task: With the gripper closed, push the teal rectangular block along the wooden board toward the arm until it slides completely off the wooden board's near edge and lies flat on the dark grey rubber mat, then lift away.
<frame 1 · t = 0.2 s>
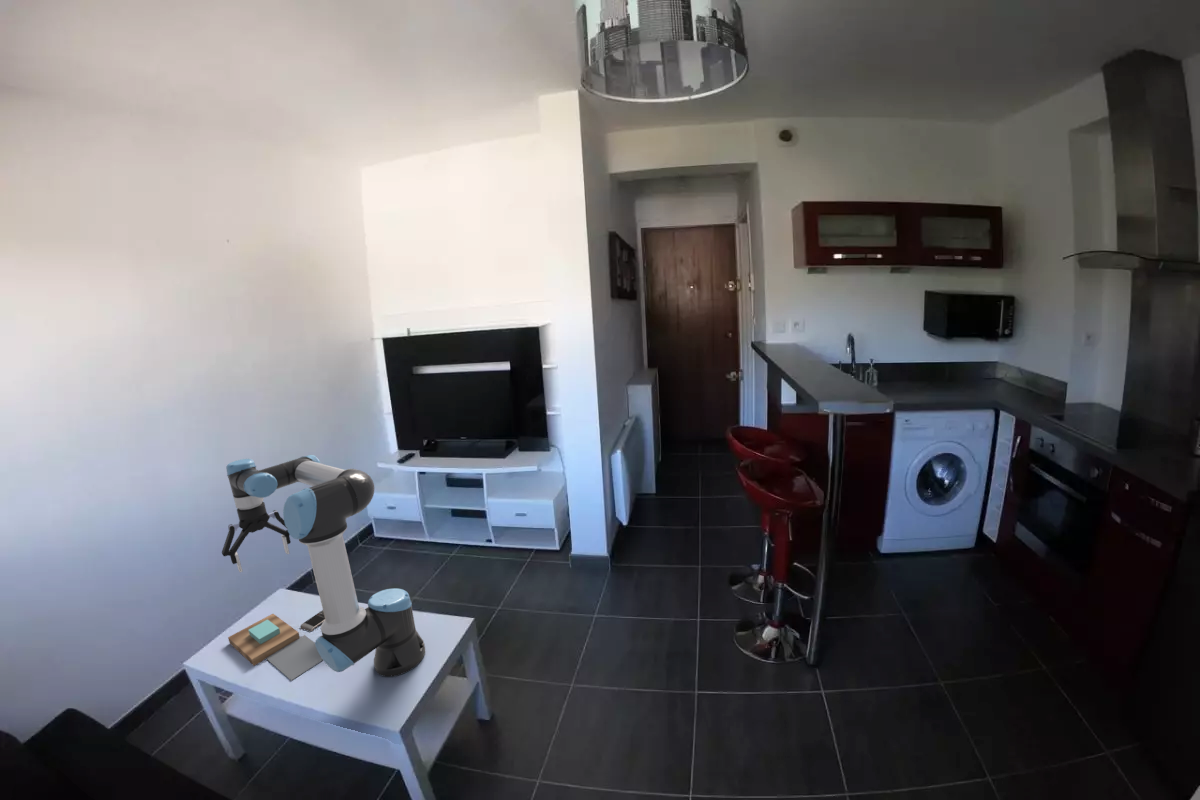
hand: (264, 561, 160), 28 cm above the table, fingers open, 13 cm apart
teal rectangular block: (264, 633, 162), point 2 cm above the table, touching wooden board
mat: (298, 656, 153), on the table
wooden board: (264, 641, 162), on the table
cell phone: (320, 621, 171), on the table
ink cartridge box: (348, 628, 166), on the table
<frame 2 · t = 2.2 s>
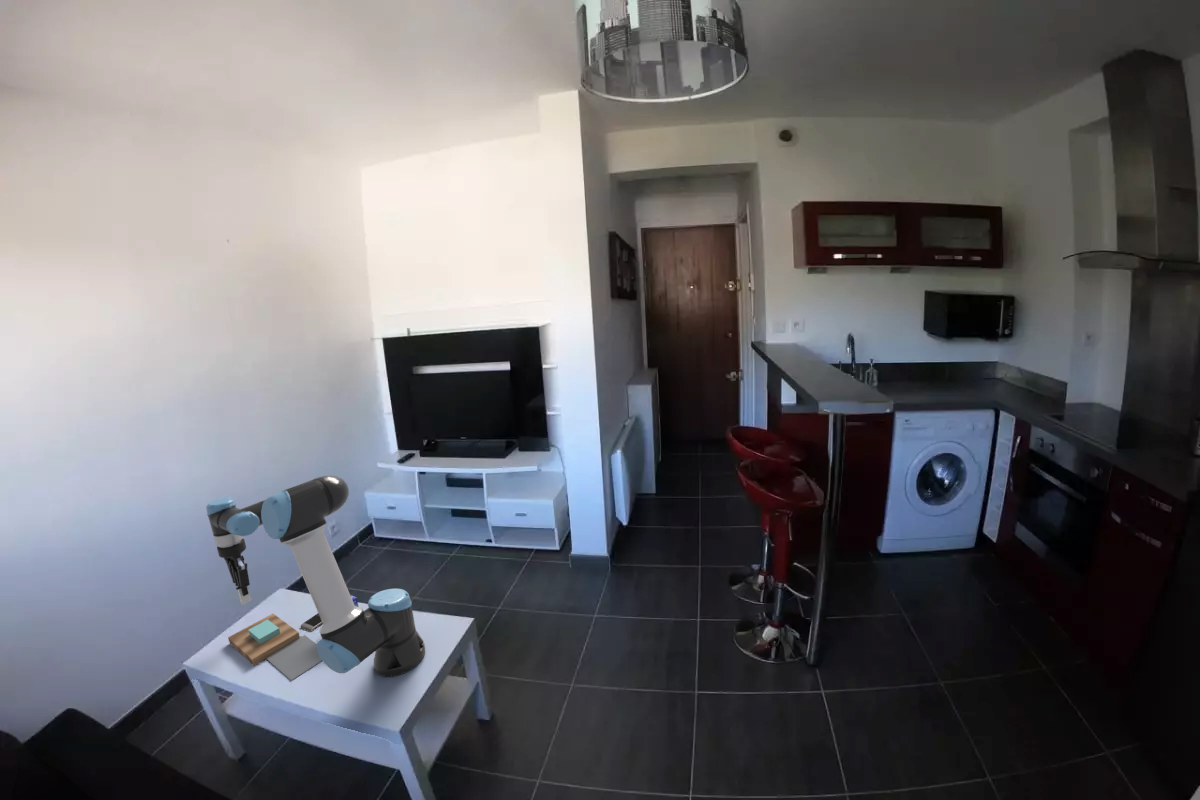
hand: (246, 601, 165), 12 cm above the table, fingers closed
nothing on the table moved.
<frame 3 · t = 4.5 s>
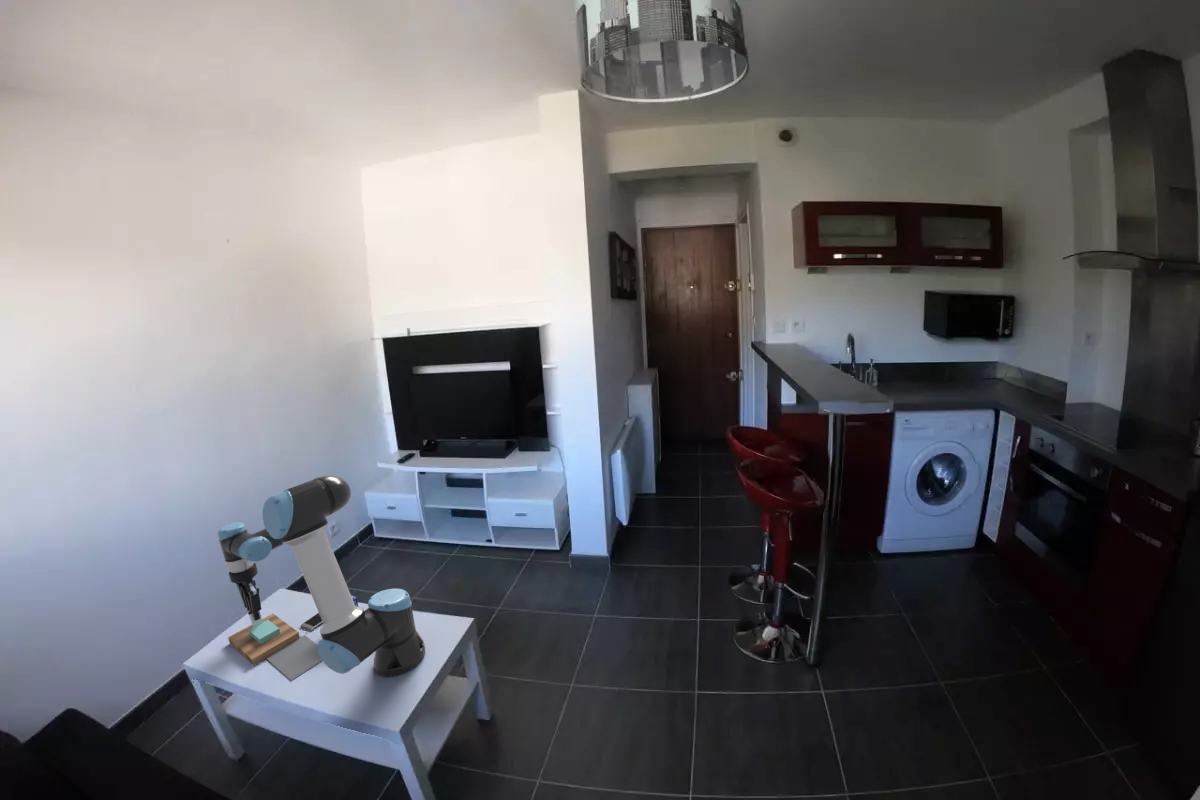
hand: (258, 626, 164), 4 cm above the table, fingers closed
teal rectangular block: (265, 634, 162), point 3 cm above the table, touching wooden board, gripper
everything else where it was.
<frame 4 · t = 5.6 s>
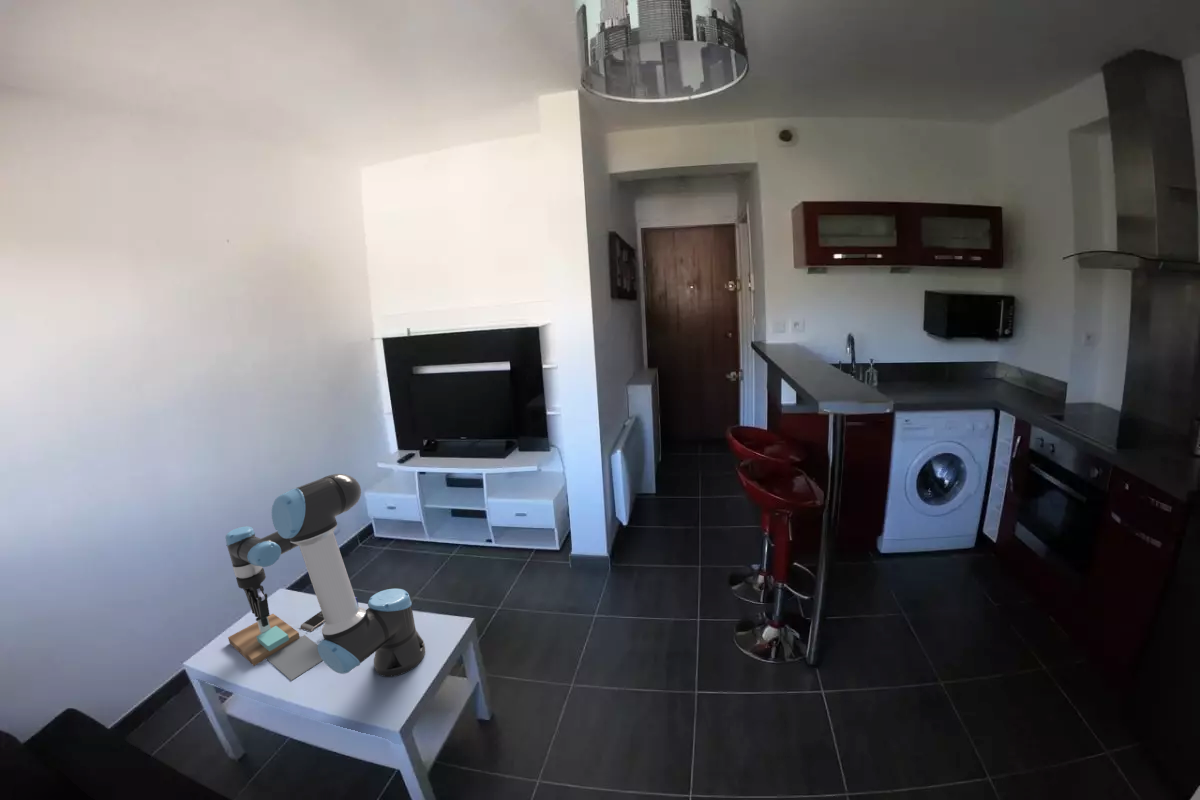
hand: (266, 632, 161), 4 cm above the table, fingers closed
teal rectangular block: (273, 640, 158), point 3 cm above the table, touching gripper
everything else where it was.
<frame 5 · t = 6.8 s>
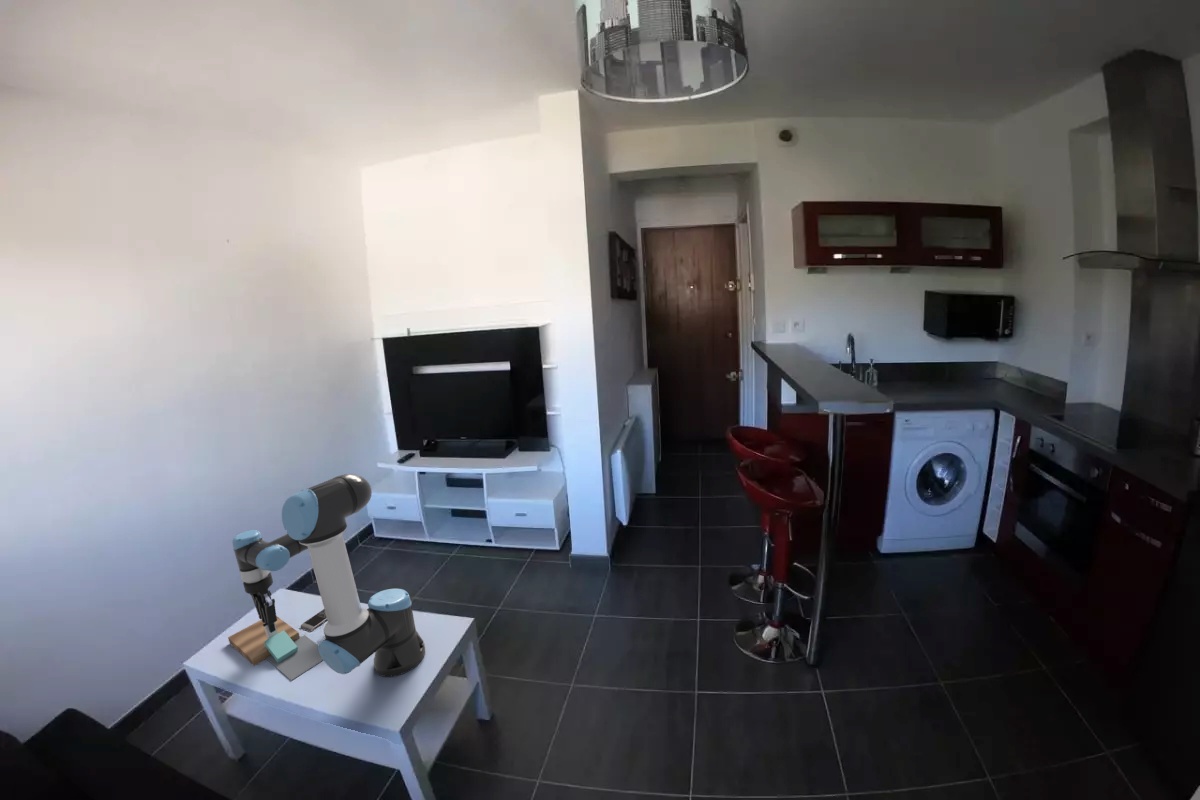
hand: (273, 638, 158), 4 cm above the table, fingers closed
teal rectangular block: (281, 648, 155), point 2 cm above the table, tilted 20°, touching gripper, mat
everything else where it was.
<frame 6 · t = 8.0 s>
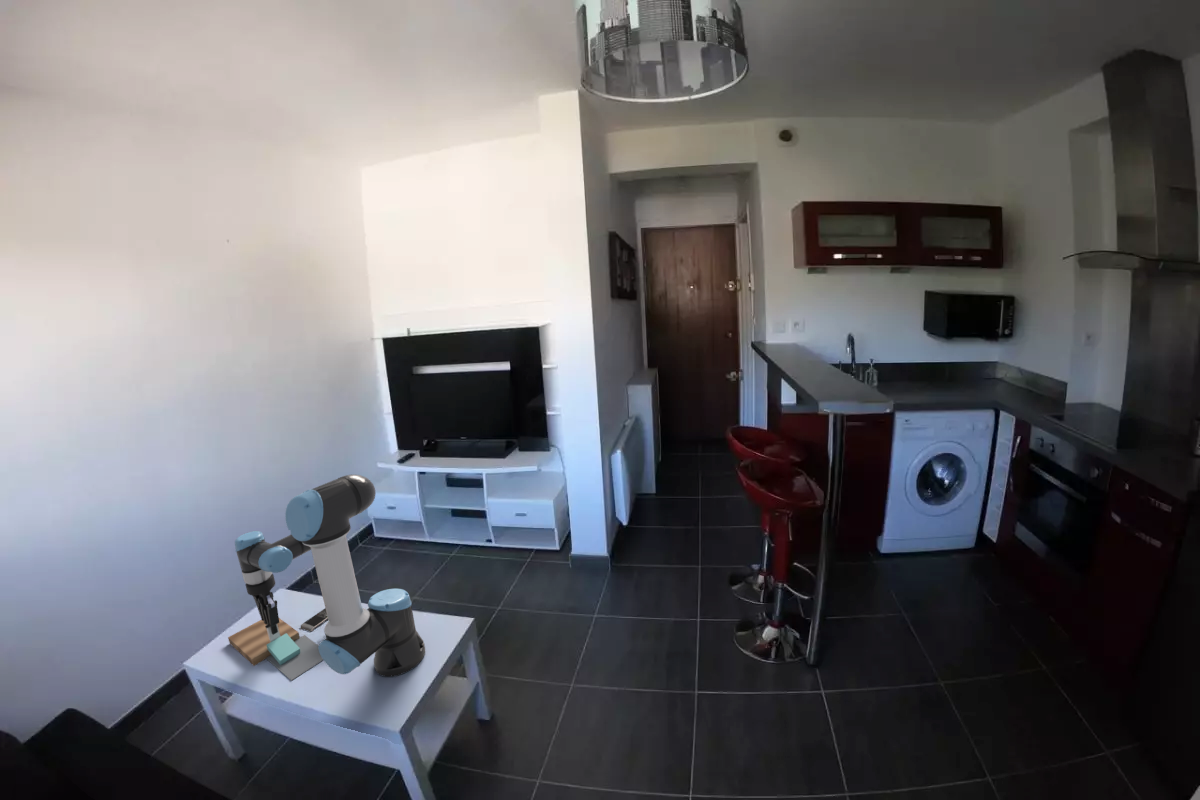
hand: (275, 640, 157), 4 cm above the table, fingers closed
teal rectangular block: (283, 650, 154), point 1 cm above the table, tilted 15°
everything else where it was.
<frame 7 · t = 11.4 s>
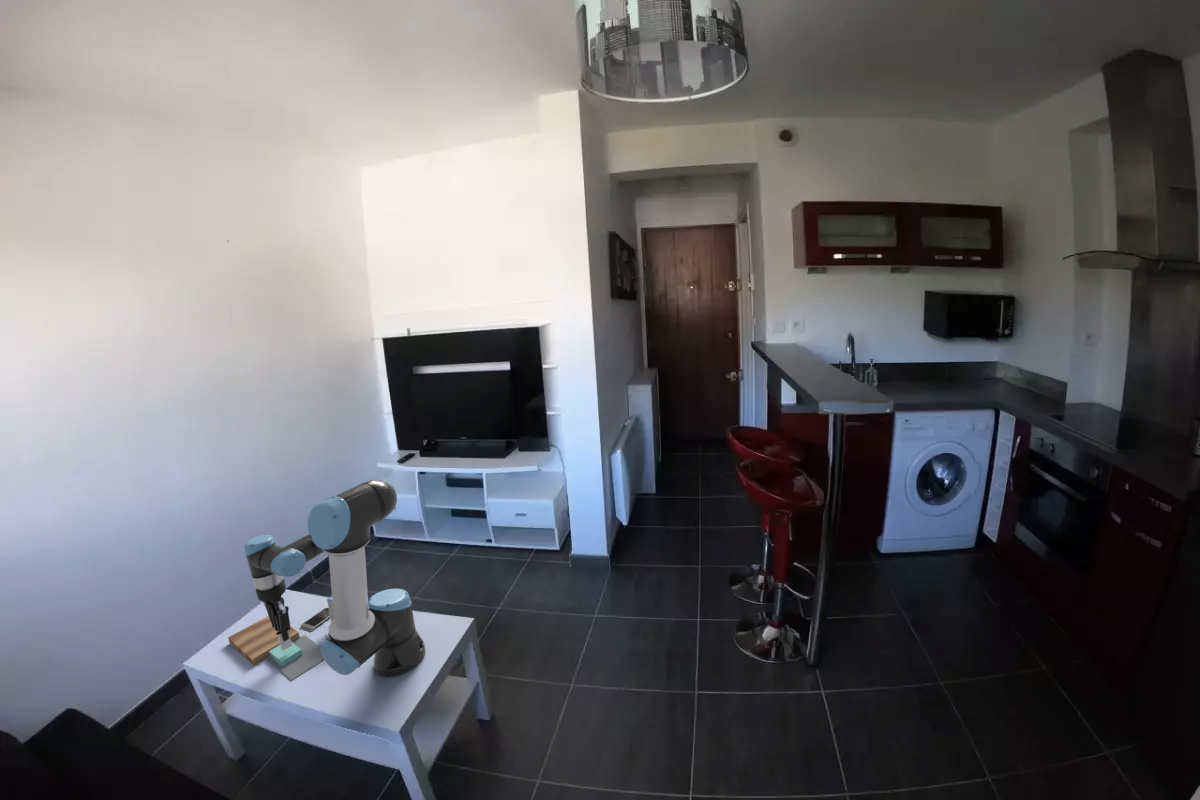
hand: (286, 647, 152), 4 cm above the table, fingers closed
teal rectangular block: (286, 655, 154), resting on mat
everything else where it was.
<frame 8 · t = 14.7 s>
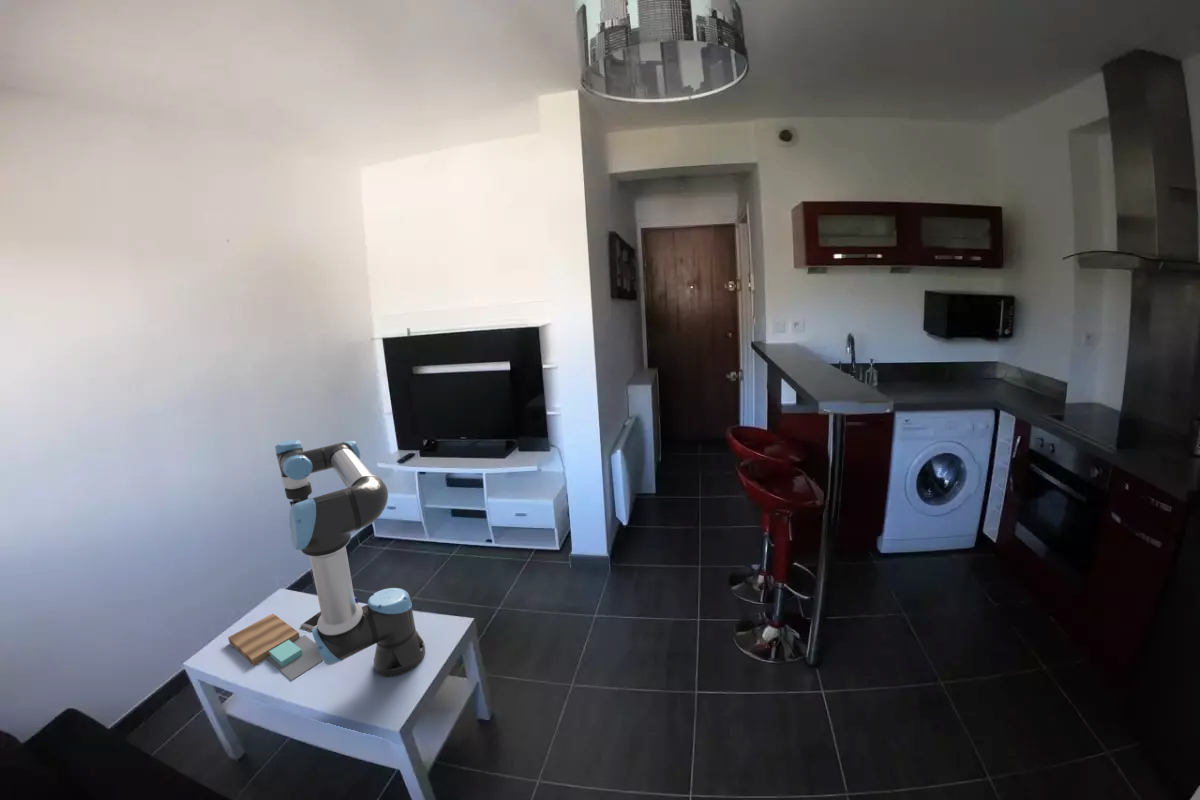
hand: (311, 546, 165), 29 cm above the table, fingers closed
nothing on the table moved.
at the end: teal rectangular block resting on mat; teal rectangular block inside the target area on the mat (4.4 cm from its centre), point 0.3 cm above the mat's base; teal rectangular block touching mat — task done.
